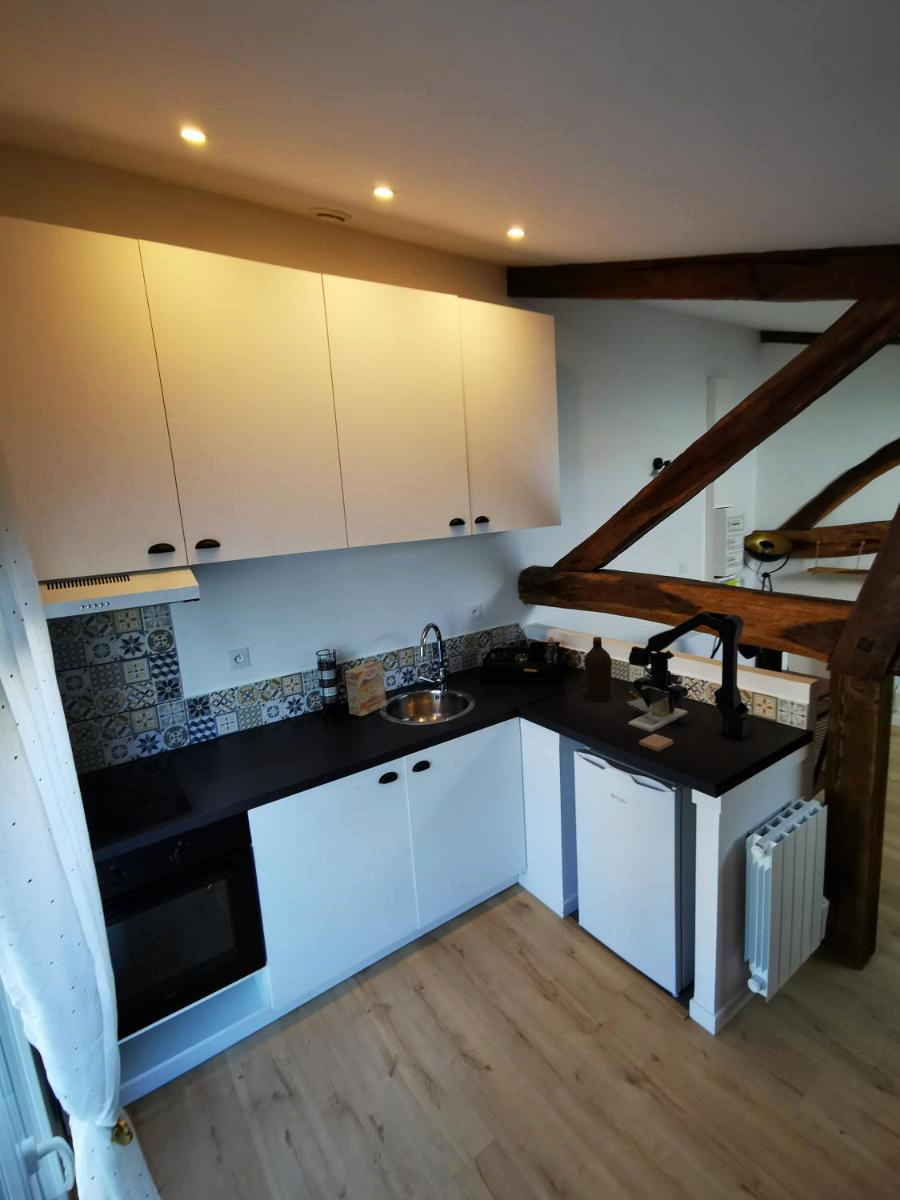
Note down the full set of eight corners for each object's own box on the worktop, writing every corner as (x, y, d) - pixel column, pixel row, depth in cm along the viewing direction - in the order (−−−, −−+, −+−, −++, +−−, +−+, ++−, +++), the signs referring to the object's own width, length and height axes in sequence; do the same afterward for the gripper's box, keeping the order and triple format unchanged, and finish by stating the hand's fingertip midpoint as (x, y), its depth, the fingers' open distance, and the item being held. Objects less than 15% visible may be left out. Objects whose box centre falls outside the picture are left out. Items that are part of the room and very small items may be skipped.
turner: (664, 708, 207) (663, 695, 207) (678, 712, 203) (678, 699, 202) (637, 720, 198) (637, 707, 197) (652, 725, 194) (652, 711, 193)
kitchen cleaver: (613, 693, 228) (637, 689, 229) (613, 695, 228) (637, 691, 229) (639, 716, 204) (665, 711, 205) (639, 718, 205) (665, 714, 205)
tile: (673, 740, 181) (658, 747, 176) (673, 744, 181) (658, 752, 177) (654, 733, 187) (639, 740, 182) (654, 738, 187) (639, 745, 182)
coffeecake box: (361, 720, 223) (356, 673, 219) (349, 717, 227) (344, 670, 223) (387, 707, 234) (382, 662, 231) (375, 704, 239) (370, 660, 235)
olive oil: (617, 696, 225) (616, 636, 221) (603, 704, 218) (601, 642, 214) (595, 691, 233) (593, 633, 229) (580, 699, 226) (578, 639, 222)
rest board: (687, 713, 203) (687, 711, 203) (651, 731, 191) (651, 729, 191) (665, 707, 211) (665, 704, 210) (628, 724, 198) (628, 721, 198)
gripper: (696, 668, 195) (696, 710, 198) (650, 658, 210) (650, 698, 213) (678, 676, 189) (678, 719, 191) (631, 665, 204) (632, 706, 206)
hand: (660, 710), depth 201 cm, fingers open, 9 cm apart
